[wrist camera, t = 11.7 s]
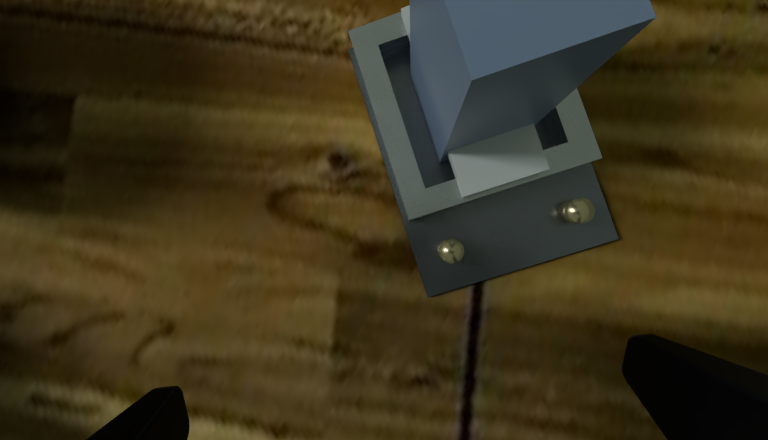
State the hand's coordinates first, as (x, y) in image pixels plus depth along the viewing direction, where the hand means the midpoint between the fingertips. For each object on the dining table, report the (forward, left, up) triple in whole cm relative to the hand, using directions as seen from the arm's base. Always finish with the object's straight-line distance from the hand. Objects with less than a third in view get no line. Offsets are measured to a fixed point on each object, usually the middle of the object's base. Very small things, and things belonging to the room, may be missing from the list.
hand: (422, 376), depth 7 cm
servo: (-1, -10, -11) cm, 15 cm away
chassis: (-2, -8, -12) cm, 14 cm away
